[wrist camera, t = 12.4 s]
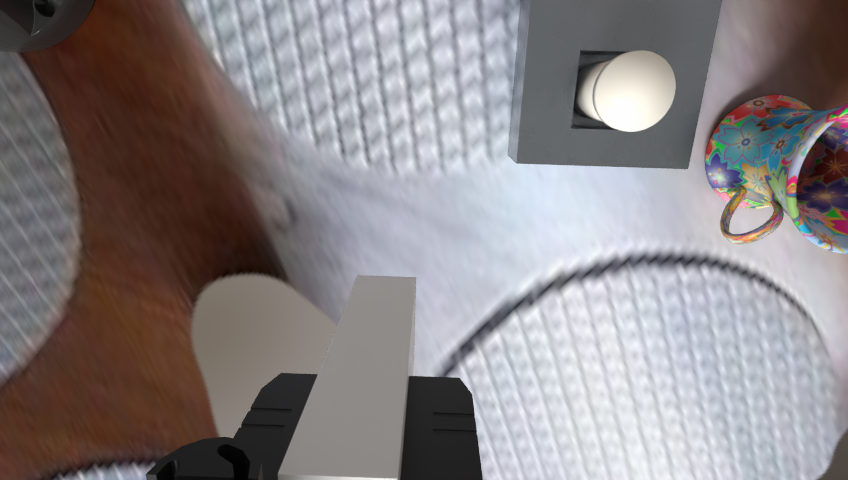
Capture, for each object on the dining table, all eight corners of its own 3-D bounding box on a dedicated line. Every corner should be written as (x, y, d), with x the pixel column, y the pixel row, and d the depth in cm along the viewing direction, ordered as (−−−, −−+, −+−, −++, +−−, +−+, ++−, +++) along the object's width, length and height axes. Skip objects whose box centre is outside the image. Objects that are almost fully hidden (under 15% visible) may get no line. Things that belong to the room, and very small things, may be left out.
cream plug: (562, 122, 35) (591, 130, 29) (570, 56, 34) (602, 49, 27) (624, 124, 35) (667, 132, 29) (635, 58, 34) (682, 51, 27)
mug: (783, 61, 35) (926, 51, 25) (838, 160, 37) (991, 188, 27) (640, 165, 37) (717, 194, 27) (699, 252, 39) (791, 309, 29)
